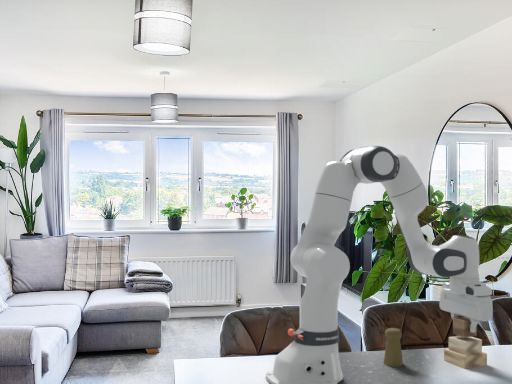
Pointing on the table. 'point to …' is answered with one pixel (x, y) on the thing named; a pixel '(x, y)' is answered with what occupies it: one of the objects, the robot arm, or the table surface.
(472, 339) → the tower mid
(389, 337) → the cork
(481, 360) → the tower base
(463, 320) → the walnut cube
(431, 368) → the table surface
